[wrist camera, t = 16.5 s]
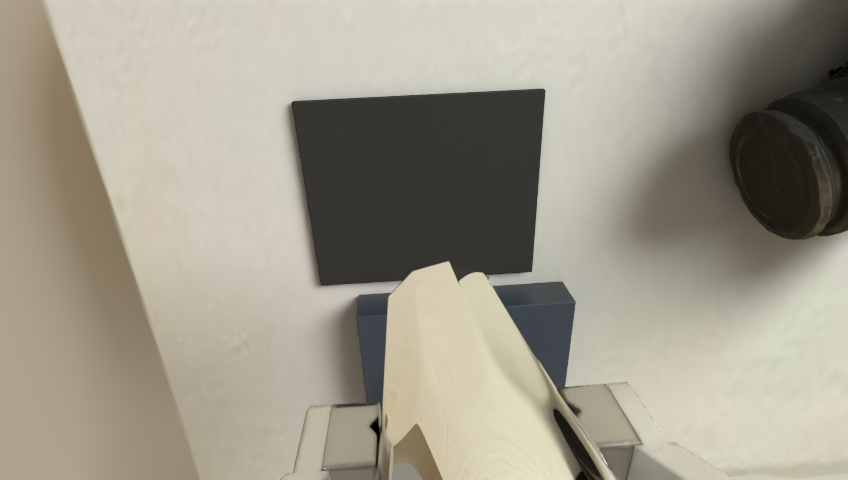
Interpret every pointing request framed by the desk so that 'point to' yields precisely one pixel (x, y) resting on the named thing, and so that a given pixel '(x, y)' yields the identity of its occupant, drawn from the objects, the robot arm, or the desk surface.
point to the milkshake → (471, 390)
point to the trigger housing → (527, 303)
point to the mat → (421, 182)
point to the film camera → (797, 161)
